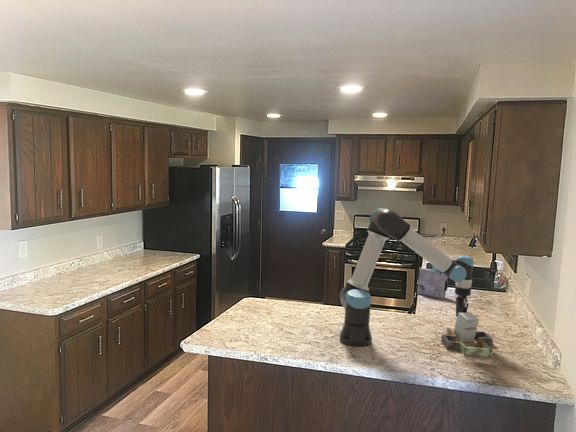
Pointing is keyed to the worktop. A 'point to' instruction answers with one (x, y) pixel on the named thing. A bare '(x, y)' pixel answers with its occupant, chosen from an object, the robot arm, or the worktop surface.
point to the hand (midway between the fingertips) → (459, 332)
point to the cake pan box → (432, 283)
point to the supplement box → (466, 327)
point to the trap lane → (482, 342)
